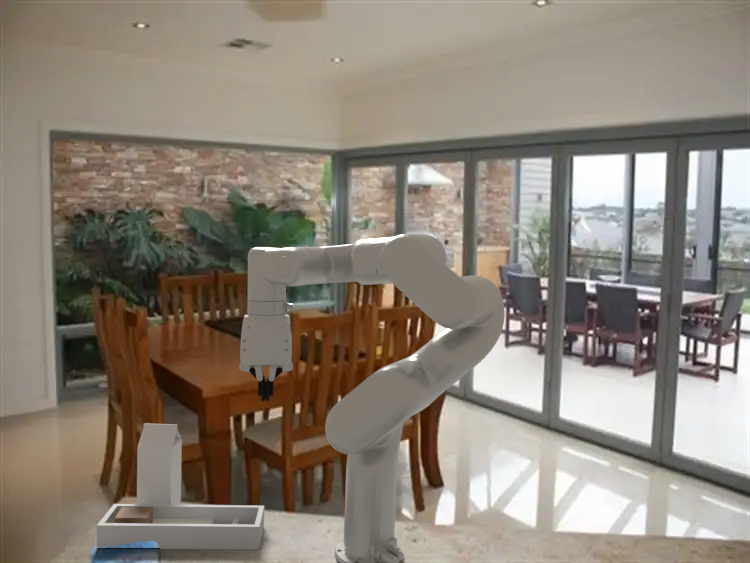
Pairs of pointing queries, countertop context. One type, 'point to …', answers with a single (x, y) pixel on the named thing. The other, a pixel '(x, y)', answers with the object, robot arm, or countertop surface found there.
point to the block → (135, 515)
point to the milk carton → (159, 465)
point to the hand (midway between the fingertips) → (265, 399)
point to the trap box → (188, 527)
